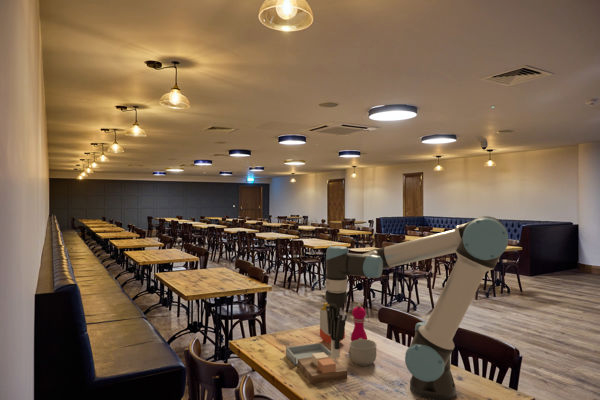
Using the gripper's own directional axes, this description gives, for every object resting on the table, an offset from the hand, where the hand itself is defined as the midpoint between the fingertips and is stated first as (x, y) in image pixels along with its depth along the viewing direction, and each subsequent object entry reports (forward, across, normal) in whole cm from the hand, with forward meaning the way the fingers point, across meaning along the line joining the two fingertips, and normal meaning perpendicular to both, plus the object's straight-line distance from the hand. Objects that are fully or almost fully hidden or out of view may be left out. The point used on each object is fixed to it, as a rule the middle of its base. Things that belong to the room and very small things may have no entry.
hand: (335, 357), depth 141 cm
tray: (+11, -27, 0) cm, 30 cm away
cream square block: (+8, -15, 0) cm, 17 cm away
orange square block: (+8, -8, 0) cm, 11 cm away
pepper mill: (+11, -30, +25) cm, 41 cm away
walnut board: (+11, -13, 0) cm, 17 cm away
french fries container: (+11, -41, +17) cm, 46 cm away
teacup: (+11, -17, +20) cm, 29 cm away
